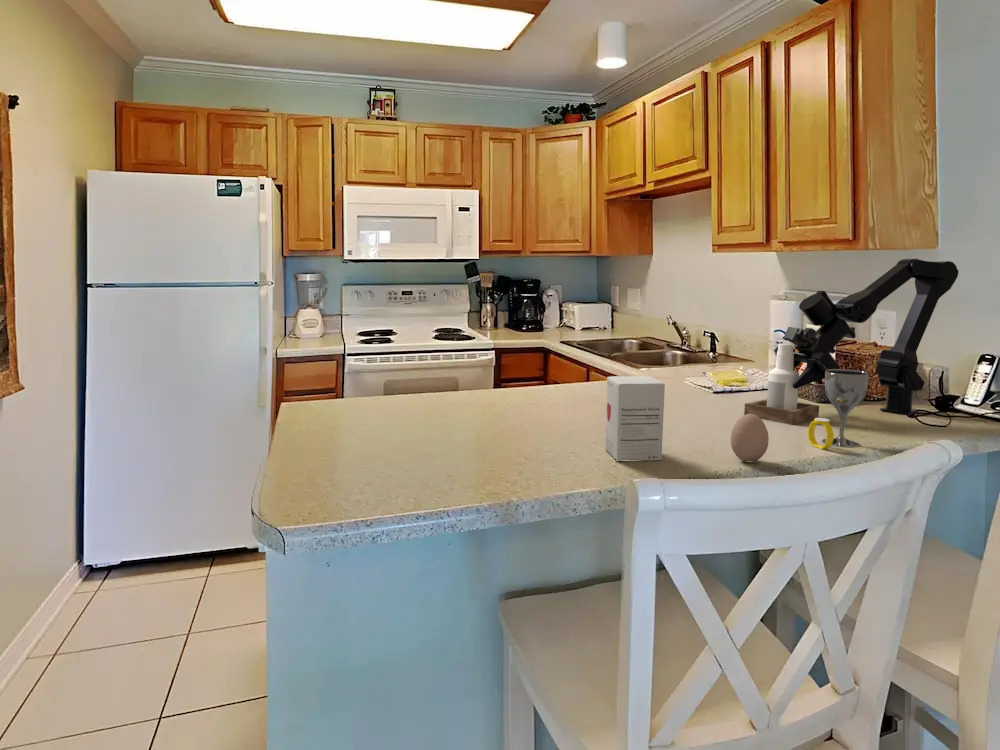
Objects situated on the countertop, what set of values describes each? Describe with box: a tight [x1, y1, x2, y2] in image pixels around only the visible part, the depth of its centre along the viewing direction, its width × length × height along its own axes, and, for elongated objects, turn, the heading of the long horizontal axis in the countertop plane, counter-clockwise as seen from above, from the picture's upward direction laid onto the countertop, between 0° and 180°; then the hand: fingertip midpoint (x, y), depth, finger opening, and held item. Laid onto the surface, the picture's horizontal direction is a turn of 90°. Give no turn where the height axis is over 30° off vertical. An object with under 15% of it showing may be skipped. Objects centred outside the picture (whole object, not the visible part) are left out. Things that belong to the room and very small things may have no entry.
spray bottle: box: [766, 343, 800, 411], centre depth 158 cm, size 7×7×18 cm
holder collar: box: [743, 398, 820, 425], centre depth 160 cm, size 12×12×3 cm
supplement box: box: [605, 375, 666, 461], centre depth 124 cm, size 9×9×15 cm
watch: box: [807, 417, 835, 450], centre depth 131 cm, size 6×3×6 cm, turn 12°
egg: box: [730, 414, 770, 462], centre depth 120 cm, size 7×7×9 cm
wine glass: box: [821, 368, 870, 448], centre depth 134 cm, size 8×8×15 cm
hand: (781, 384), depth 158 cm, fingers open, 9 cm apart
